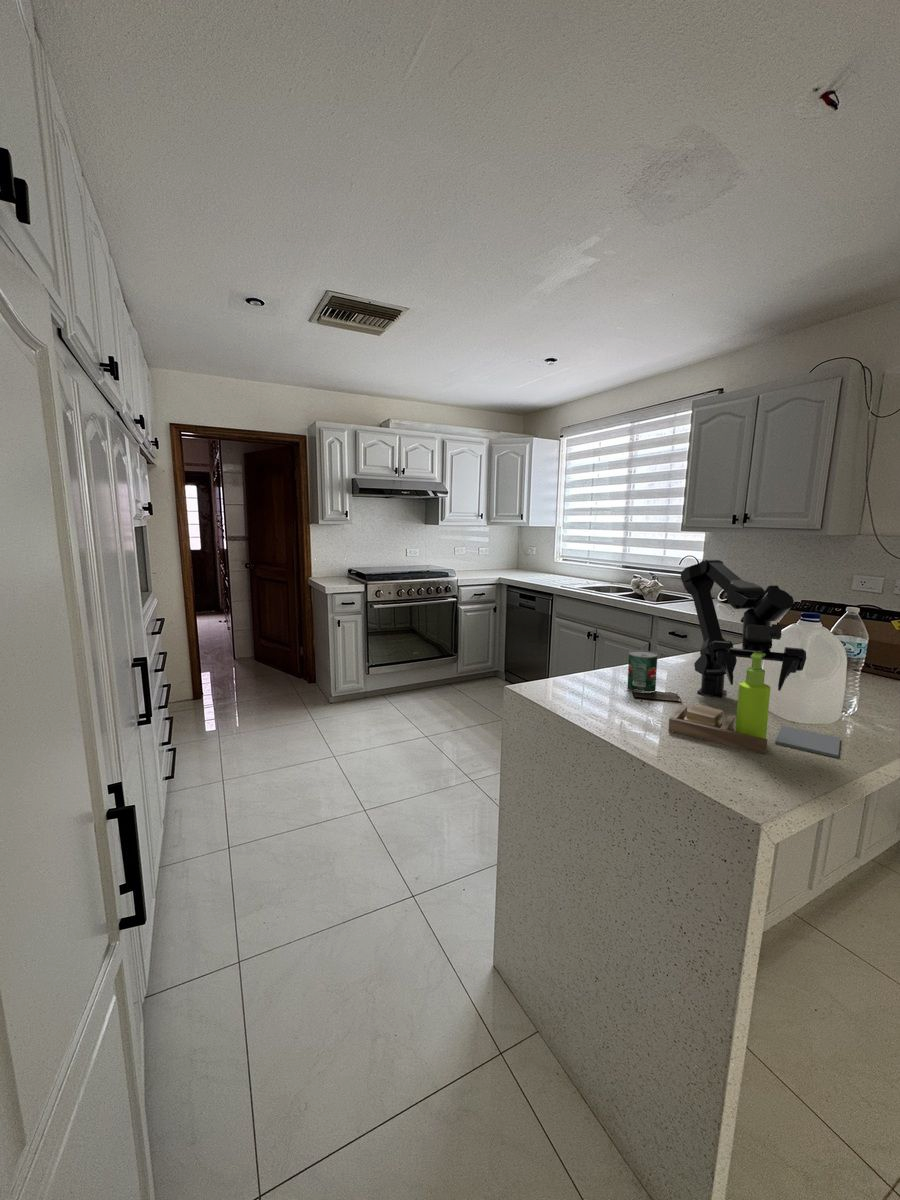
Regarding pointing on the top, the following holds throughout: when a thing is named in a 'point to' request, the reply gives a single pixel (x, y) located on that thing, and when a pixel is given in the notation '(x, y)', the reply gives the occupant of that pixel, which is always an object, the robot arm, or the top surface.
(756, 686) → the soap dispenser
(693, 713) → the offcut stack
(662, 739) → the top surface
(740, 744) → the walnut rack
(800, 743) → the slate mat
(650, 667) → the canned tomato
